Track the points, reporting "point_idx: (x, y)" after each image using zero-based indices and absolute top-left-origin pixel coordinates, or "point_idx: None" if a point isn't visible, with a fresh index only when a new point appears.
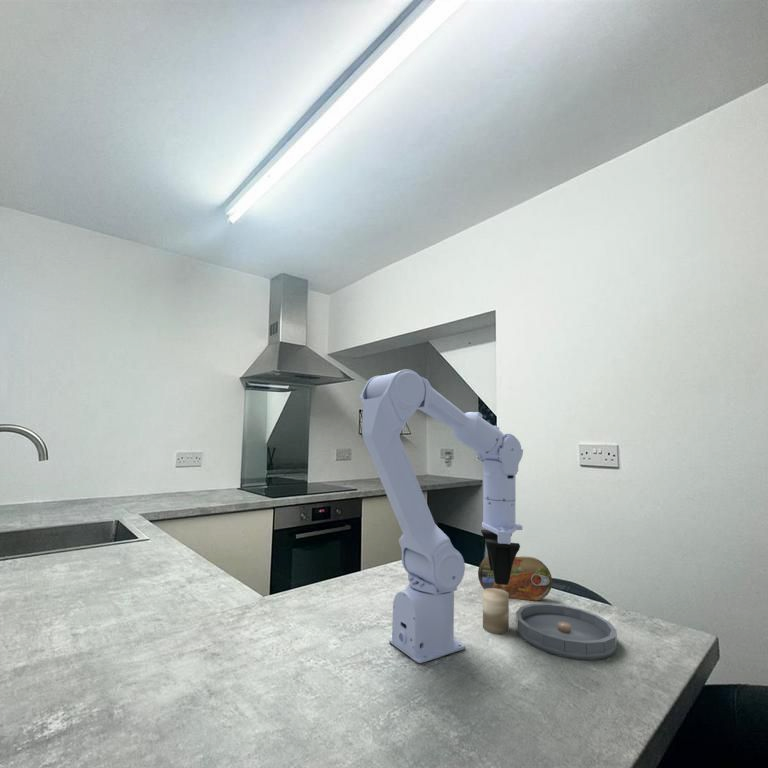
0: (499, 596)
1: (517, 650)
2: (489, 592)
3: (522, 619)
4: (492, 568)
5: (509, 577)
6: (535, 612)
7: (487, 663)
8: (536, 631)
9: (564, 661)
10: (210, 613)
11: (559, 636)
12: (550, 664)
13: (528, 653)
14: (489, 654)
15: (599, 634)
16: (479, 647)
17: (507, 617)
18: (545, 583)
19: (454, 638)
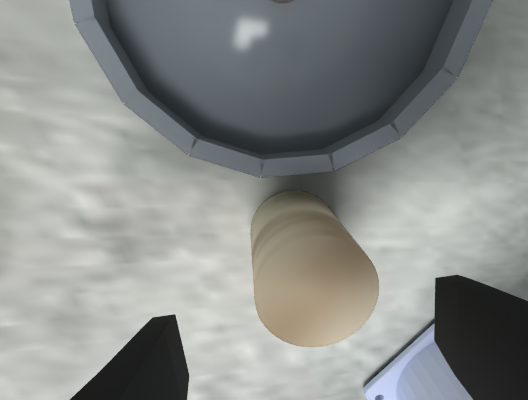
0: (369, 276)
1: (431, 165)
2: (327, 320)
3: (233, 145)
4: (186, 379)
5: (499, 291)
6: (144, 86)
7: (520, 243)
8: (432, 104)
9: None
10: None
11: (351, 7)
12: (502, 69)
13: (444, 132)
14: (471, 241)
15: None
16: (435, 268)
17: (323, 209)
18: None
19: (428, 336)
